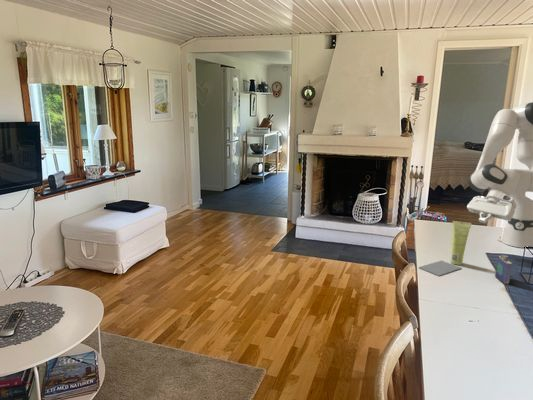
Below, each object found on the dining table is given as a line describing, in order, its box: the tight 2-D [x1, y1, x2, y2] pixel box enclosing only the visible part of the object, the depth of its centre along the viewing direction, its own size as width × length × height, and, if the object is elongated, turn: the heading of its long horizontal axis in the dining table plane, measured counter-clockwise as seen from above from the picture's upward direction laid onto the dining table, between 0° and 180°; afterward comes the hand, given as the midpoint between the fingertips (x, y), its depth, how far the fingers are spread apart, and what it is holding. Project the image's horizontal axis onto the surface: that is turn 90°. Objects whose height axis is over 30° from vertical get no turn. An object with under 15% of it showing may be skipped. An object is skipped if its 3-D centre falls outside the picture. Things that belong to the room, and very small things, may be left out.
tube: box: [449, 220, 472, 266], centre depth 180 cm, size 6×5×20 cm
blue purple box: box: [494, 254, 513, 285], centre depth 164 cm, size 9×3×11 cm, turn 172°
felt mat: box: [418, 260, 463, 277], centre depth 176 cm, size 16×10×1 cm, turn 122°
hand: (481, 221), depth 187 cm, fingers closed
